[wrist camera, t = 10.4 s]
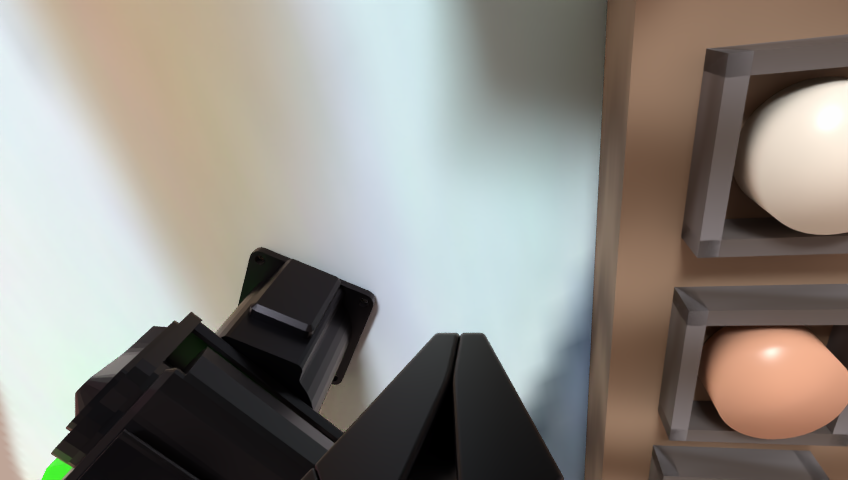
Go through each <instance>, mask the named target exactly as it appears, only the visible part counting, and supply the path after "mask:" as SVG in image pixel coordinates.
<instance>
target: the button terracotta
mask: <svg viewBox="0 0 848 480" xmlns="http://www.w3.org/2000/svg"><path fill="white" fill-rule="evenodd" d="M698 375H699V377H700V379H701V381H702V383H703V385H704V387H705V389H706V390H707V392H708V394H709V396H710V398H711V400H712V402H713V404H714V405H715V407H716V409H717V411H718V413H719V415H720V417H721V418H722V419H723V421H724V422H725V423H726V424H727V425H728V426H730V427H731V428H732V429H734V430H736V431H738V432H739V433H742V434H744V435H747V436H751V437H755V438H761V439H786V438H792V437H797V436H801V435H805V434H807V433H810V432H813V431H815V430H817V429H820V428H821V427H823V426H825V425H827V424H828V423H830V422H831V421H832V420H834V419H835V418H836V417H837V416H838V415H839V414H840V413H841V412H842V411H843V410H844V409H845V407H846V406H847V404H848V371H847V369H846V368H845V367H844V366H843V365H842V363H841V362H840V361H839V360H838V359H837V358H836V357H835V356H834V355H833V354H832V353H831V352H830V351H829V350H828V349H827V348H826V347H825V346H824V344H823V343H822V342H821V341H820V340H819V339H818V338H817V337H816V336H815V335H814V334H813V333H812V332H811V331H810V330H809V329H808V328H807V327H806V326H804V325H757V326H725V327H723V328H722V329H720V330H719V331H717V332H716V333H715V334H713V335H712V336H711V337H710V338H709V339H708V340H707V341H706V343H705V344H704V345H703V347H702V353H701V359H700V364H699V370H698Z"/></svg>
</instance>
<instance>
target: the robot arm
mask: <svg viewBox="0 0 848 480" xmlns="http://www.w3.org/2000/svg"><path fill="white" fill-rule="evenodd" d="M258 256H261V257H263V258H264V261H263V260H261V259H260V258H259V257H258ZM362 298H363V299H366V300H367V301H368V302H367V303H366V302H363V301H362V300H361V299H362ZM374 303H375V296H374V295H373V294H372V293H371V292H370V291H368V290H365V289H363V288H361V287H358V286H356V285H353V284H351V283H348V282H346V281H344V280H341V279H339V278H338V277H336V276H333V275H331V274H328V273H326V272H324V271H321V270H319V269H316V268H314V267H311V266H309V265H307V264H304V263H302V262H299V261H297V260H294V259H290V258H288V257H285V256H283V255H280V254H278V253H276V252H273V251H271V250H268V249H266V248H262V247H261V248H257V249H256V250H254V251H253V252H252V254H251V255H250V259H249V263H248V267H247V271H246V275H245V279H244V283H243V287H242V292H241V296H240V300H239V304H238V307H237V308H236V310H235V311H234V312H233V313H232V314H231V315H230V317H229V318H228V319H227V320H226V321H225V322H224V324H223V325H222V326H221V327H220V328H219V329H218V330H217V332H216V333H214V332H213V331H211V330H210V329H209V328H207V327H206V326H205V325H204V324H202V323H201V321H202V320H201V319H200V318H199V317H198V316H196V315H195V314H194V313H192V312H191V313H189V314H188V315H187V316H186V317H185V318H184V319H183V320H182V321H181V322H180V323H178V322H176V321H173V322H172V323H171V324H170V325H169V326H168V327H158V326H153V327H152V328H151V329H150V330H149V331H148V332H146V333H145V334H144V335H143V336H142V337H141V338H140V339H139V340H138V341H137V342H136V343H135V344H134V345H132V346H131V347H130V348H129V349H128V350H127V351H126V352H125V353H123V354H122V355H121V356H119V357H118V358H117V359H115V360H114V361H113V362H111V363H110V364H109V365H107V366H106V367H104V368H103V369H102V370H100V371H99V372H98V373H96V374H95V375H94V376H92V377H91V378H90V379H89V380H88V381H87V382H85V383H84V384H83V385H82V386H81V387H80V388H79V389H78V391H77V392H76V393H75V418H74V419H73V420H72V421H71V422H70V423H69V425H68V426H67V427H66V429H67V430H69V431H70V433H69V434H68V435H67V436H66V437H65V438H64V439H63V440H62V441H61V443H60V444H59V445H58V446H57V447H56V448H55V449H54V450H53V452H52V453H51V454H52V455H53V456H55V457H57V458H58V459H60V460H61V461H63V462H64V463H66V464H68V465H69V466H71V467H73V468H72V469H71V470H70V471H69V472H68V473H67V474H66V475H65V476H64V477H63V478H62V479H61V480H564V478H563V475H562V474H561V472H560V470H559V468H558V466H557V464H556V463H555V461H554V459H553V457H552V455H551V454H550V452H549V450H548V448H547V446H546V445H545V443H544V441H543V439H542V437H541V435H540V434H539V432H538V430H537V428H536V426H535V425H534V423H533V421H532V419H531V417H530V415H529V414H528V412H527V410H526V408H525V406H524V405H523V403H522V401H521V399H520V397H519V396H518V394H517V392H516V390H515V388H514V386H513V385H512V383H511V381H510V379H509V377H508V376H507V374H506V372H505V370H504V368H503V366H502V365H501V363H500V361H499V359H498V357H497V356H496V354H495V352H494V350H493V348H492V346H491V345H490V343H489V341H488V339H487V337H486V336H485V335H484V334H483V333H463V334H461V335H460V336H459V334H458V333H437V334H435V335H434V336H433V337H432V338H431V339H430V340H429V342H428V343H427V344H426V345H425V346H424V347H423V348H422V349H421V350H420V351H419V352H418V353H417V355H416V356H415V357H414V358H413V359H412V360H411V361H410V362H409V363H408V364H407V365H406V367H405V368H404V369H403V370H402V371H401V372H400V373H399V374H398V375H397V376H396V377H395V378H394V380H393V381H392V382H391V383H390V384H389V385H388V386H387V387H386V388H385V389H384V390H383V391H382V393H381V394H380V395H379V396H378V397H377V398H376V399H375V400H374V401H373V402H372V403H371V404H370V406H369V407H368V408H367V409H366V410H365V411H364V412H363V413H362V414H361V415H360V416H359V418H358V419H357V420H356V421H355V422H354V423H353V424H352V425H351V426H350V427H349V428H348V429H347V431H346V432H344V433H343V432H342V431H341V430H339V429H338V428H337V427H335V426H334V425H333V424H331V423H330V422H329V421H328V420H326V419H325V418H324V417H322V416H321V415H320V414H319V410H320V408H321V406H322V404H323V401H324V399H325V397H326V394H327V392H328V390H329V388H330V385H331V384H334V385H335V384H339V383H341V381H342V379H343V377H344V374H345V372H346V370H347V367H348V365H349V362H350V360H351V358H352V355H353V353H354V351H355V348H356V346H357V343H358V341H359V339H360V336H361V334H362V331H363V329H364V327H365V324H366V322H367V320H368V317H369V315H370V312H371V310H372V308H373V305H374ZM335 375H336V376H335Z"/></svg>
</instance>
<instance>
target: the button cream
mask: <svg viewBox="0 0 848 480" xmlns="http://www.w3.org/2000/svg"><path fill="white" fill-rule="evenodd" d="M733 173H734V177H735V179H736V182H737V184H738V185H739V187H740V189H741V190H742V191H743V192H744V193H745V195H747V196H748V197H749V198H750V199H752V200H753V201H754V202H755V203H757V204H758V205H759V206H760V207H762V208H763V209H764V210H766V211H767V212H768V213H769V214H771V215H772V216H773V217H775V218H776V219H777V220H778V221H780V222H781V223H782V224H784V225H786V226H788V227H789V228H792V229H794V230H797V231H800V232H804V233H808V234H816V235H831V234H840V233H846V232H848V78H846V77H838V76H825V77H818V78H812V79H808V80H804V81H801V82H799V83H796V84H793V85H791V86H789V87H787V88H785V89H783V90H781V91H779V92H778V93H776V94H775V95H773V96H772V97H770V98H769V99H768V100H766V101H765V102H764V103H763V104H762V105H761V106H759V107H758V108H757V109H756V110H755V111H754V113H753V114H752V115H751V116H750V117H749V118H748V120H747V121H746V123H745V124H744V126H743V127H742V129H741V131H740V136H739V142H738V147H737V153H736V159H735V165H734V170H733Z"/></svg>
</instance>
